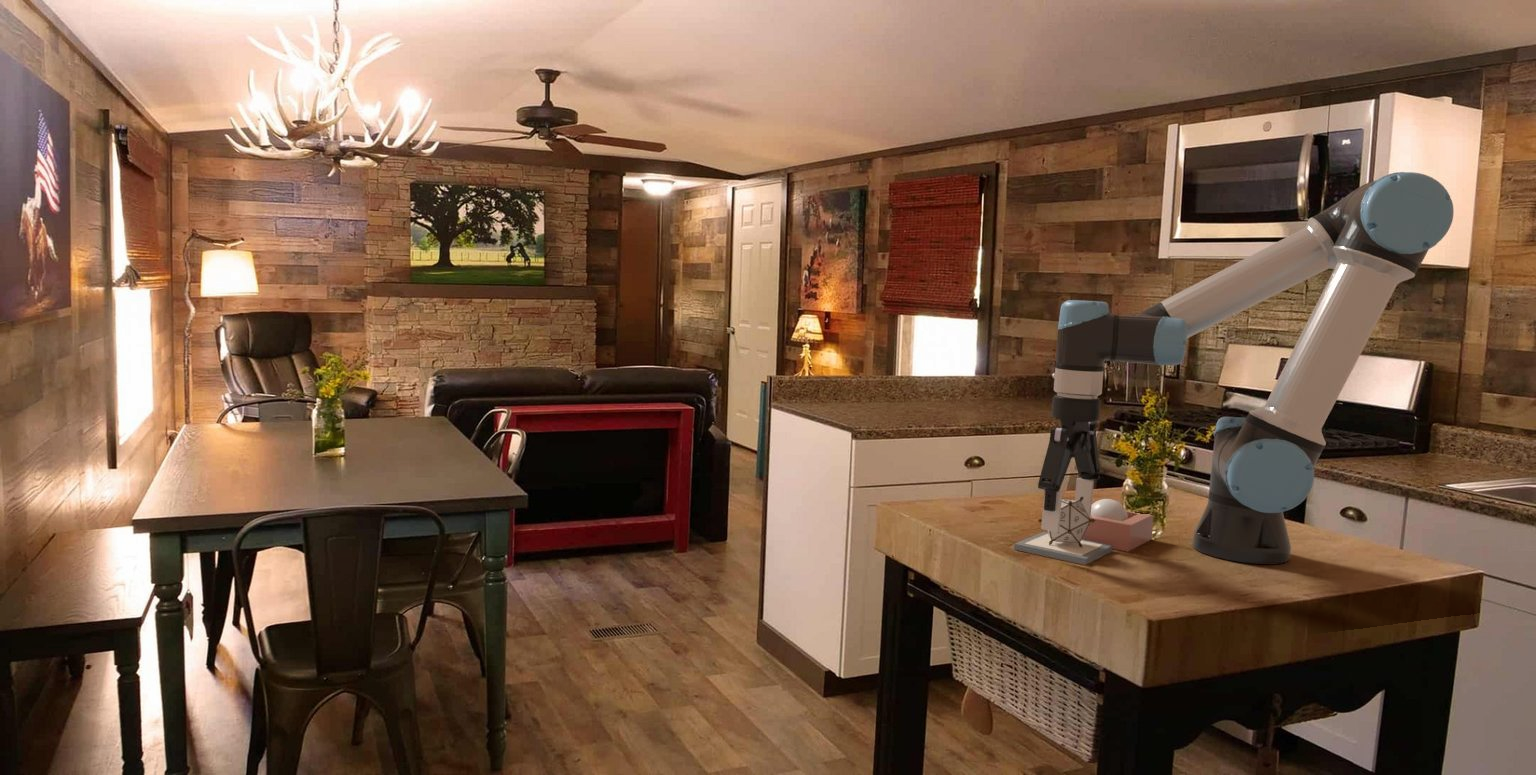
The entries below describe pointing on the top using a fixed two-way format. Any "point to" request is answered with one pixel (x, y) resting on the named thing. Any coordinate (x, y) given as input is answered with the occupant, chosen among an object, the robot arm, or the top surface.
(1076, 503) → the game die
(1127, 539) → the pink open box
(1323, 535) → the top surface
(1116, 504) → the white ball
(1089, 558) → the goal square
